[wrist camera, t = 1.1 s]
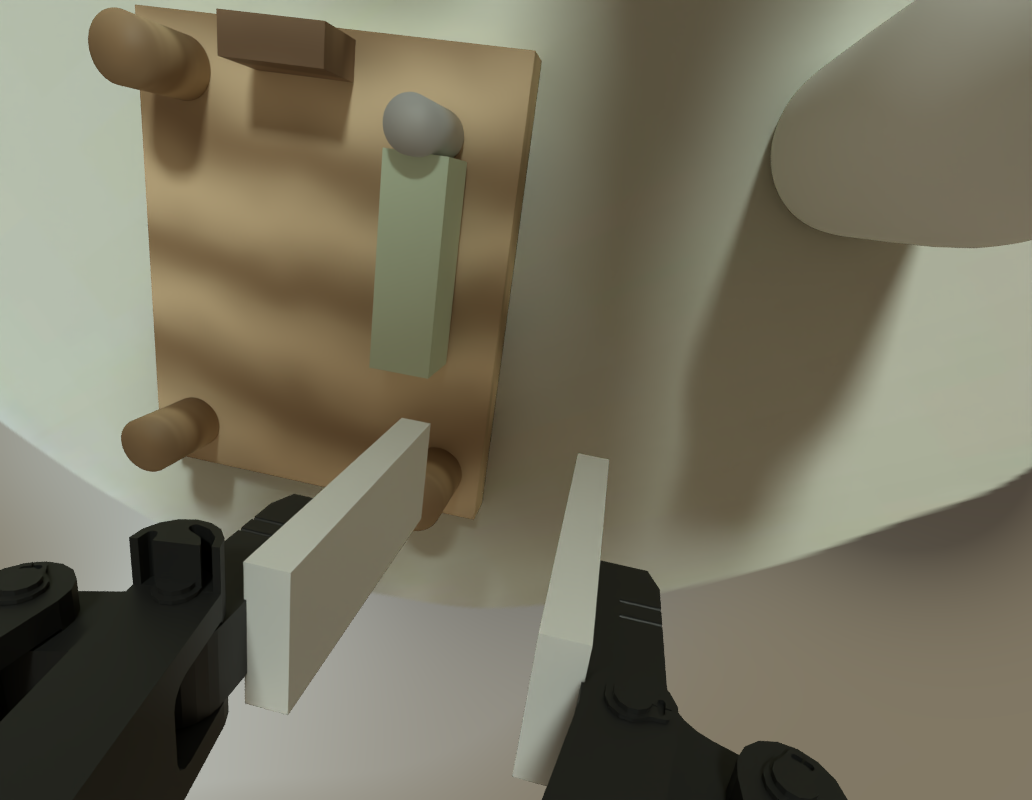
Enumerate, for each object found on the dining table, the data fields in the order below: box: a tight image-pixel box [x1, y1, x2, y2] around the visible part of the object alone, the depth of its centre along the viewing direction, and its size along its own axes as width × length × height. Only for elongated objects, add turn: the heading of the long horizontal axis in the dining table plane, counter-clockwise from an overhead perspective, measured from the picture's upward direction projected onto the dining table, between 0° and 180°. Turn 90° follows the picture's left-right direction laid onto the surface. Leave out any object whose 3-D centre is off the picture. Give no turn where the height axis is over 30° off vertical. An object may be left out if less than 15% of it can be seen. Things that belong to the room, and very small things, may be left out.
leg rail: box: [369, 92, 467, 379], centre depth 28 cm, size 12×3×4 cm, turn 172°
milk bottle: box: [771, 0, 1032, 248], centre depth 18 cm, size 8×8×20 cm
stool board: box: [88, 5, 542, 531], centre depth 31 cm, size 24×20×6 cm
